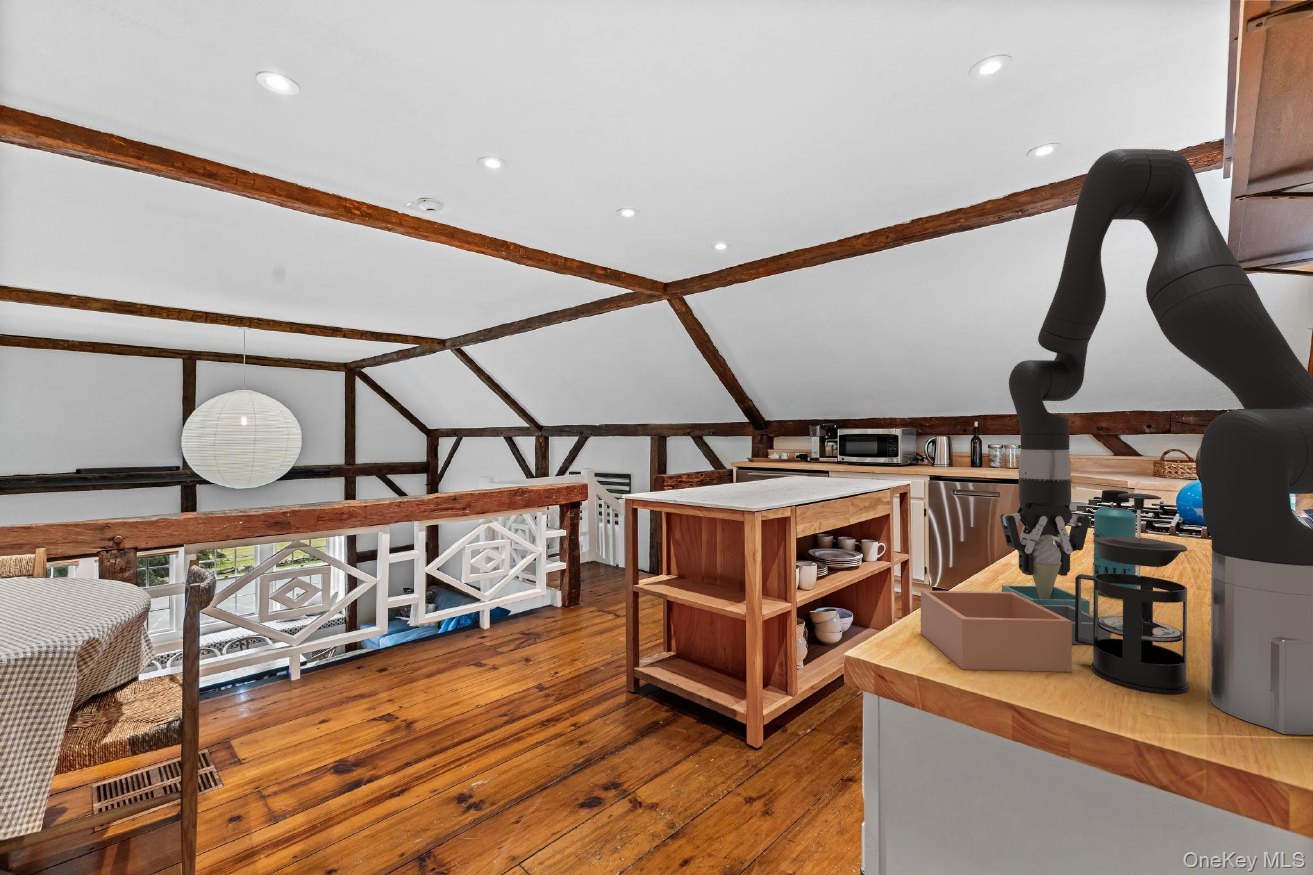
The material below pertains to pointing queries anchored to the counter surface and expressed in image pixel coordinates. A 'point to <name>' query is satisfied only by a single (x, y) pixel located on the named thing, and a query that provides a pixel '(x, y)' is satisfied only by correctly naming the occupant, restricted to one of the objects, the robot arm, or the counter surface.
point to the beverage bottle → (1113, 533)
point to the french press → (1137, 615)
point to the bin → (996, 631)
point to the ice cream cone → (1045, 565)
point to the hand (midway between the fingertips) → (1044, 574)
